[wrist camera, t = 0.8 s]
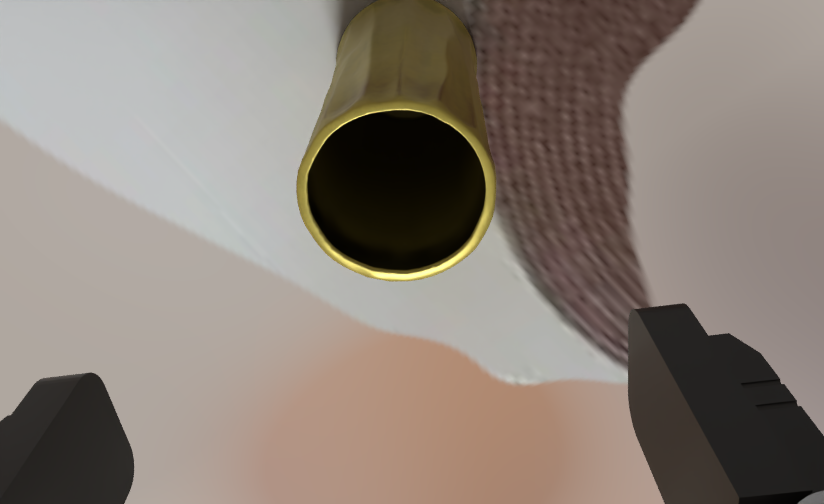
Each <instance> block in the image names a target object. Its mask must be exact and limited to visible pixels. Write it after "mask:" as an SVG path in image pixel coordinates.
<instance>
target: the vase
mask: <svg viewBox="0 0 824 504" xmlns="http://www.w3.org/2000/svg"><path fill="white" fill-rule="evenodd" d="M476 72H477V59H476V53H475V48H474V45H473V41H472V39H471V36H470V34H469V33H468V31H467V29H466V28H465V26H464V25H463V23H462V22H461V21H460V20H459V18H458V17H457V16H456V15H455V14H454V13H453V12H452V11H450V10H449V9H448V8H446V7H445V6H443V5H442V4H440V3H438V2H436V1H434V0H378V1H376V2H374V3H372V4H370V5H369V6H367V7H366V8H364V9H363V10H362V11H361V12H360V13H358V14H357V15H356V16H355V17H354V18H353V19H352V21H351V22H350V23H349V25H348V26H347V28H346V30H345V32H344V34H343V36H342V38H341V41H340V44H339V47H338V52H337V57H336V68H335V71H334V75H333V79H332V83H331V85H330V88H329V90H328V93H327V95H326V97H325V100H324V104H323V107H322V110H321V113H320V115H319V118H318V120H317V123H316V125H315V128H314V130H313V133H312V136H311V138H310V141H309V144H308V147H307V149H306V152H305V155H304V157H303V159H302V161H301V164H300V167H299V170H298V176H297V200H298V206H299V210H300V214H301V217H302V219H303V222H304V224H305V226H306V227H307V229H308V231H309V232H310V234H311V235H312V237H313V238H314V239H315V241H316V242H317V244H318V245H319V246H320V247H321V249H322V250H323V251H324V252H325V253H326V254H327V255H328V256H329V257H331V258H332V259H333V260H334V261H336V262H337V263H339V264H341V265H342V266H344V267H346V268H348V269H350V270H352V271H354V272H356V273H359V274H361V275H364V276H366V277H369V278H375V279H380V280H385V281H412V280H419V279H424V278H427V277H431V276H434V275H437V274H439V273H442V272H444V271H446V270H448V269H449V268H451V267H453V266H455V265H456V264H458V263H459V262H461V261H462V260H463V259H465V258H466V257H467V256H468V255H469V254H471V253H472V252H473V251H474V250H475V248H476V247H477V246H478V244H479V243H480V241H481V240H482V238H483V236H484V234H485V233H486V231H487V229H488V227H489V225H490V222H491V220H492V217H493V213H494V208H495V199H496V172H495V164H494V161H493V159H492V156H491V152H490V149H489V144H488V138H487V132H486V127H485V121H484V115H483V110H482V105H481V101H480V97H479V89H478V82H477V79H476Z"/></svg>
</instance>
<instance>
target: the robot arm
mask: <svg viewBox="0 0 824 504" xmlns="http://www.w3.org/2000/svg"><path fill="white" fill-rule="evenodd" d="M628 399H629V408H630V413H631V418H632V423H633V427H634V430H635V433H636V436H637V439H638V441H639V443H640V446H641V448H642V451H643V453H644V455H645V457H646V460H647V462H648V465H649V467H650V470H651V472H652V474H653V477H654V479H655V481H656V484H657V486H658V489H659V491H660V493H661V496H662V498H663V500H664V502H665V504H824V436H823V434H822V433H821V432H820V430H818V428H817V427H816V425H815V424H814V423H813V421H812V420H811V419H810V417H809V416H808V415H807V414H806V412H805V411H804V410H803V408H802V407H801V406H797V400H796V399H795V398H794V396H793V395H792V394H791V393H790V391H789V390H788V389H787V388H786V386H785V385H784V384H781V382H780V379H779V377H778V376H777V374H776V373H775V372H774V370H773V369H772V368H771V367H770V365H769V364H768V362H767V361H766V360H765V359H764V357H763V356H762V355H761V353H759V352H758V351H756V350H754V349H753V348H751V347H750V346H748V345H747V344H745V343H743V342H742V341H740V340H739V339H737V338H735V337H734V336H732V335H731V334H729V333H728V334H719V335H711V336H708V335H707V333H706V332H705V330H704V329H703V327H702V326H701V324H700V323H699V321H698V320H697V318H696V317H695V316H694V314H693V312H692V311H691V310H690V308H689V307H688V306H687V305H686V304H674V305H666V306H658V307H649V308H641V309H633V310H631V312H630V315H629V325H628ZM133 475H134V459H133V453H132V449H131V446H130V444H129V441H128V439H127V437H126V434H125V432H124V430H123V427H122V425H121V423H120V420H119V418H118V416H117V413H116V411H115V409H114V406H113V404H112V401H111V399H110V397H109V394H108V392H107V390H106V388H105V385H104V383H103V381H102V380H101V378H100V377H99V376H98V375H96V374H94V373H85V374H75V375H67V376H59V377H50V378H43V379H40V380H39V381H37V382H36V383H35V384H34V385H33V387H32V388H31V390H30V391H29V392H28V393H27V395H26V396H25V397H24V399H23V400H22V401H21V403H20V404H19V405H18V407H17V408H16V409H15V411H14V412H13V414H12V415H10V416H7V417H5V418H4V419H3V420H2V421H0V504H124V503H125V500H126V498H127V496H128V494H129V491H130V489H131V486H132V482H133V477H134V476H133Z"/></svg>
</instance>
